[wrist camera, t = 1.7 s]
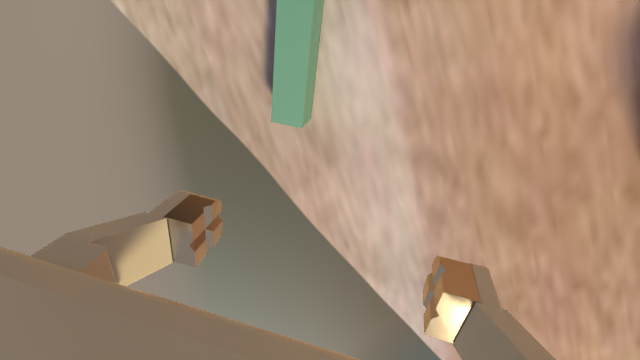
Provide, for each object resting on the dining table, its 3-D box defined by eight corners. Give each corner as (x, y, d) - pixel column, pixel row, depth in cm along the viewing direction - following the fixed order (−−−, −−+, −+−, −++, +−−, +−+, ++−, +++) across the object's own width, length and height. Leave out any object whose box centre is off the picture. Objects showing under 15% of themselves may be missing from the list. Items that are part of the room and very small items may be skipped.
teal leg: (290, -60, 23) (274, -69, 21) (332, -55, 23) (322, -63, 20) (280, 112, 30) (267, 122, 27) (312, 118, 29) (302, 130, 27)
